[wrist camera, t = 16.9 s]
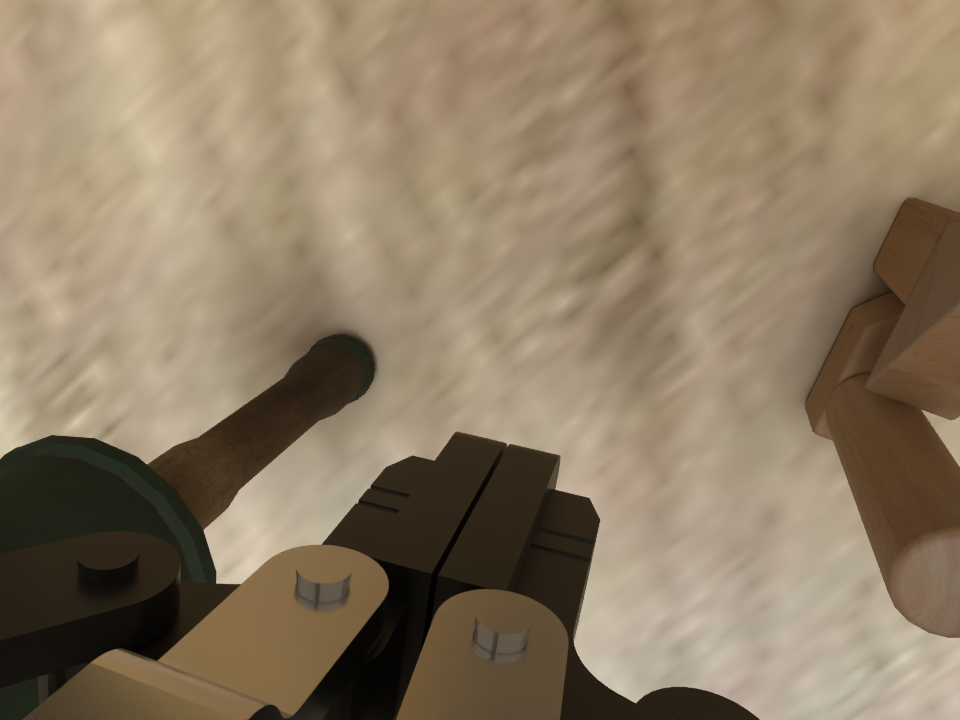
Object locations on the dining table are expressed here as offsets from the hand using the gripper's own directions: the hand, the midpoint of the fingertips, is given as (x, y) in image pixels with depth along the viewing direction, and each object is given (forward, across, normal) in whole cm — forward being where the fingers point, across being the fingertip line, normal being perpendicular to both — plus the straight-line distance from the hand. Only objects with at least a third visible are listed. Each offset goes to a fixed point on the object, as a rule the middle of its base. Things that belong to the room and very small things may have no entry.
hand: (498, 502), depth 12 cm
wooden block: (+31, -12, +3) cm, 34 cm away
